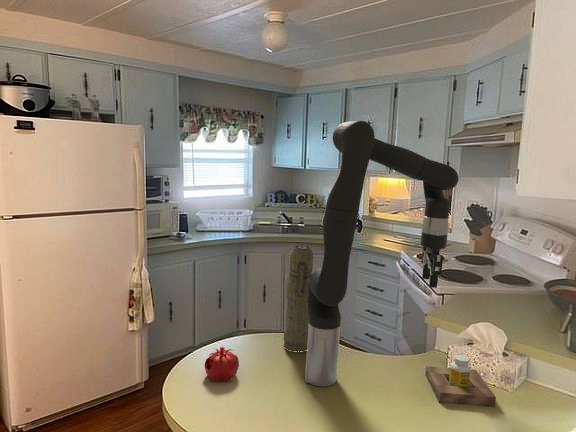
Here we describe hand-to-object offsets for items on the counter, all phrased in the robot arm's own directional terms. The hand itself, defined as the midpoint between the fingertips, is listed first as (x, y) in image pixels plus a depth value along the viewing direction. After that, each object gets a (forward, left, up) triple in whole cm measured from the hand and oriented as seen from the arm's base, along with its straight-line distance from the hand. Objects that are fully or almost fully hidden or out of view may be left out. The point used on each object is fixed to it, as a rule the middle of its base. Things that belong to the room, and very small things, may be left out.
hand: (429, 282), depth 135 cm
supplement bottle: (+8, -12, -28) cm, 31 cm away
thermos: (-40, +8, -28) cm, 50 cm away
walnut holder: (+8, -12, -28) cm, 32 cm away
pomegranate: (-61, -15, -28) cm, 69 cm away
